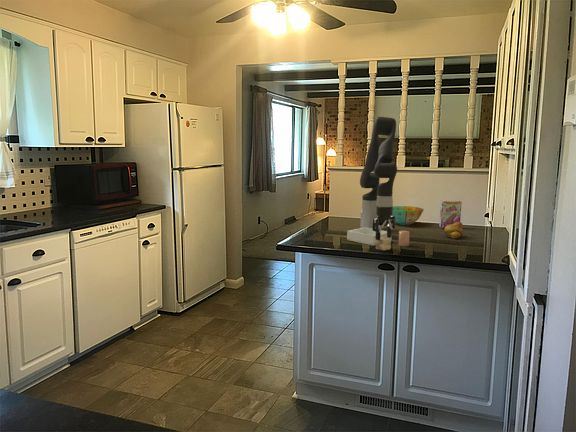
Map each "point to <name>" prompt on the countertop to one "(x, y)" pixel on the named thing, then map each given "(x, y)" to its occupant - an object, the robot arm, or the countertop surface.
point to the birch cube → (383, 244)
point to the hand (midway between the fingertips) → (383, 238)
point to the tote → (365, 236)
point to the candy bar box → (449, 212)
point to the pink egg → (403, 238)
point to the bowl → (406, 214)
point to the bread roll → (454, 230)
